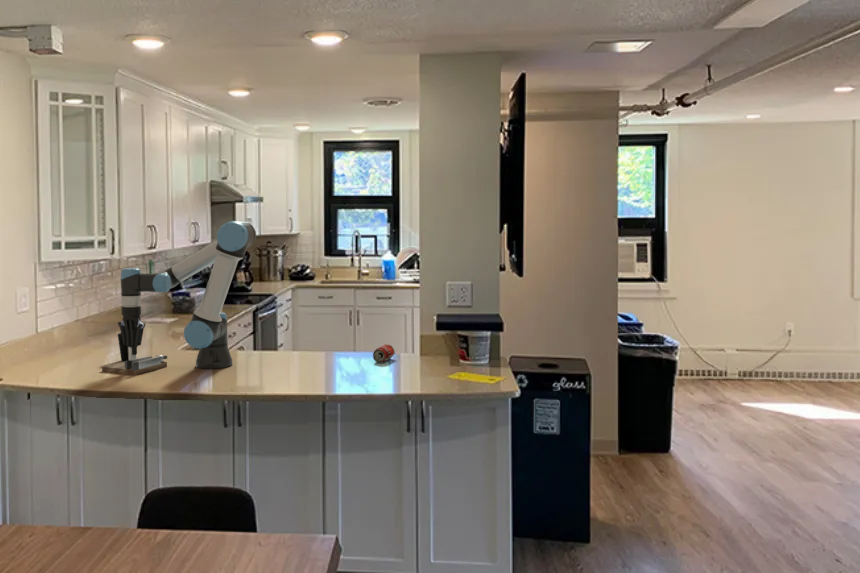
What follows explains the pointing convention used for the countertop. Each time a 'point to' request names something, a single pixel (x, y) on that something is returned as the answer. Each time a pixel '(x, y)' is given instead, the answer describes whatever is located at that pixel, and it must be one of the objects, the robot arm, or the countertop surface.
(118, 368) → the board
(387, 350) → the beverage can
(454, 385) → the countertop surface
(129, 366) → the tong arm
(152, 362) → the tongs fixed
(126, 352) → the cup
